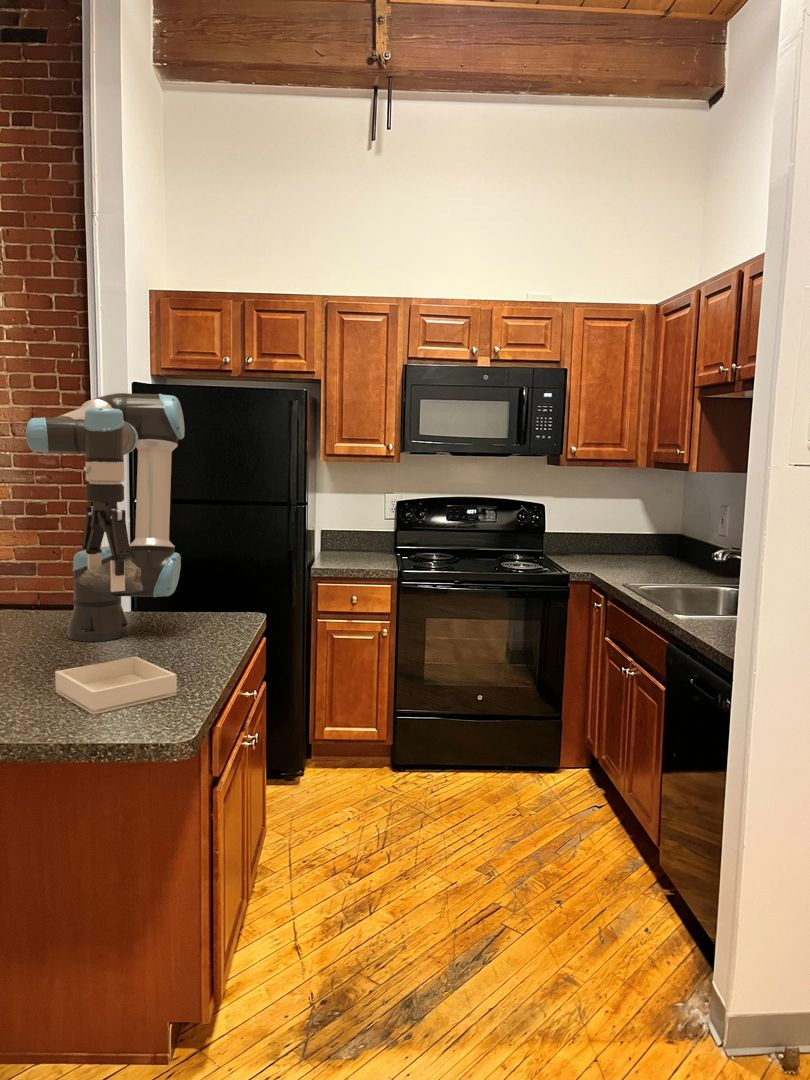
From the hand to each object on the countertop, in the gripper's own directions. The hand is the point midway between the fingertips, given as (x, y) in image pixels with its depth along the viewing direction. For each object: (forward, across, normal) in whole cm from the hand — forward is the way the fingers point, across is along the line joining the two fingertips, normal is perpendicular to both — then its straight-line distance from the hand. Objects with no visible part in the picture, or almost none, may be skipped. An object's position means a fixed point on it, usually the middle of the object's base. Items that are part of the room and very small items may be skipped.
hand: (106, 587), depth 164 cm
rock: (+1, 0, +1) cm, 1 cm away
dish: (+21, +7, -1) cm, 22 cm away
